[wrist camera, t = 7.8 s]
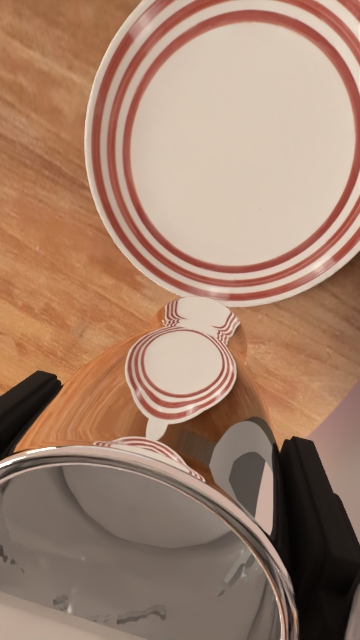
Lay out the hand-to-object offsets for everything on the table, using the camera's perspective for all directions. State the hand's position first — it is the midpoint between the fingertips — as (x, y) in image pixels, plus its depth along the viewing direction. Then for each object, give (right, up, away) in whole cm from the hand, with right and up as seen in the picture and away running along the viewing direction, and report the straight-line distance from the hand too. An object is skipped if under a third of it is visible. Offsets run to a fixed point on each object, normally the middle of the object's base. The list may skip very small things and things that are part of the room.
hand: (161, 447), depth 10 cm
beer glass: (+2, +2, +10) cm, 10 cm away
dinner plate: (+6, +19, +21) cm, 29 cm away
